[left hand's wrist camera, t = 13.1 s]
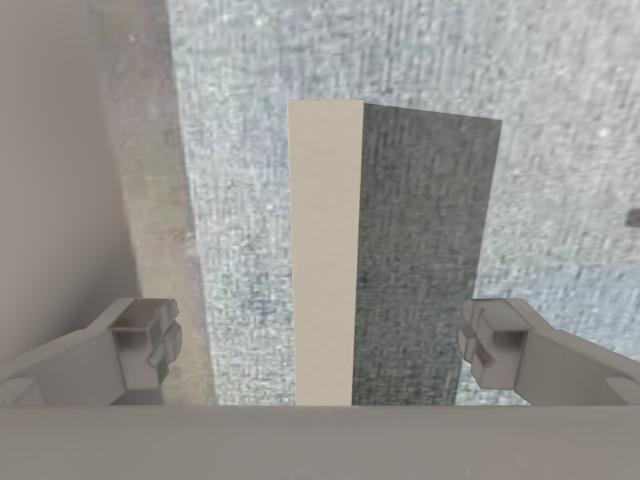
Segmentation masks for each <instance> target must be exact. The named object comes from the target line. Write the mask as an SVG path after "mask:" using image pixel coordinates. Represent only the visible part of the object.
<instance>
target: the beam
mask: <svg viewBox="0 0 640 480" xmlns="http://www.w3.org/2000/svg"><path fill="white" fill-rule="evenodd" d="M287 112H288V147H289V182H290V217H291V252H292V286H293V321H294V356H295V391H296V406H352V384H353V359H354V335H355V311H356V286H357V262H358V237H359V213H360V189H361V164H362V140H363V115H364V100H287Z"/></svg>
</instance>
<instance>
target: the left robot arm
mask: <svg viewBox="0 0 640 480" xmlns="http://www.w3.org/2000/svg"><path fill="white" fill-rule="evenodd" d="M178 313H179V310H178V305H177V302H176V301H175V300H174V299H160V298H119V299H117V300H115V301H114V302H113V303H112V304H111V305H110V306H109V307H108V308H107V309H106V310H105V311H104V312H103V313H102V314H101V315H100V316H99V317H98V318H96V319H95V320H94V321H93V322H92V323H91V324H90V325H89V326H88V327H87V328H86V329H85V330H77V331H74V332H72V333H70V334H67V335H65V336H62V337H60V338H58V339H55V340H53V341H50V342H48V343H46V344H43V345H41V346H38V347H36V348H34V349H31V350H29V351H26V352H24V353H22V354H19V355H17V356H15V357H12V358H10V359H7V360H5V361H3V362H0V480H640V362H637V361H635V360H632V359H630V358H628V357H625V356H623V355H621V354H618V353H616V352H613V351H611V350H609V349H606V348H604V347H601V346H599V345H597V344H594V343H592V342H590V341H587V340H585V339H582V338H580V337H578V336H575V335H573V334H570V333H568V332H566V331H563V330H555V329H554V328H553V327H552V326H551V325H550V324H549V323H548V322H547V321H546V320H545V319H544V318H543V317H542V316H540V315H539V314H538V313H537V312H536V311H535V310H534V309H533V308H532V307H531V306H530V305H529V304H528V303H527V302H526V301H525V300H524V299H521V298H488V299H465V300H464V302H463V305H462V310H461V313H462V315H463V316H464V318H465V320H464V322H463V323H462V324H461V325H460V326H459V330H458V346H459V349H460V353H461V355H462V357H463V359H464V360H465V361H467V362H469V363H470V364H472V365H471V373H472V374H473V376H474V378H475V380H476V381H477V383H478V385H479V387H480V388H481V389H495V390H514V392H515V393H517V394H518V395H519V396H521V397H522V398H523V399H525V400H526V401H527V402H529V403H530V404H531V405H532V406H118V405H114V406H110V405H109V404H110V403H112V402H113V401H114V400H116V399H117V398H118V397H119V396H121V395H122V394H123V393H125V392H126V390H143V389H159V388H160V387H161V385H162V383H163V381H164V380H165V378H166V376H167V375H168V373H169V365H168V364H170V363H171V362H173V361H175V360H176V359H177V357H178V355H179V353H180V349H181V345H182V329H181V326H180V325H179V324H178V323H177V322H176V320H175V318H176V316H177V315H178Z"/></svg>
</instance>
